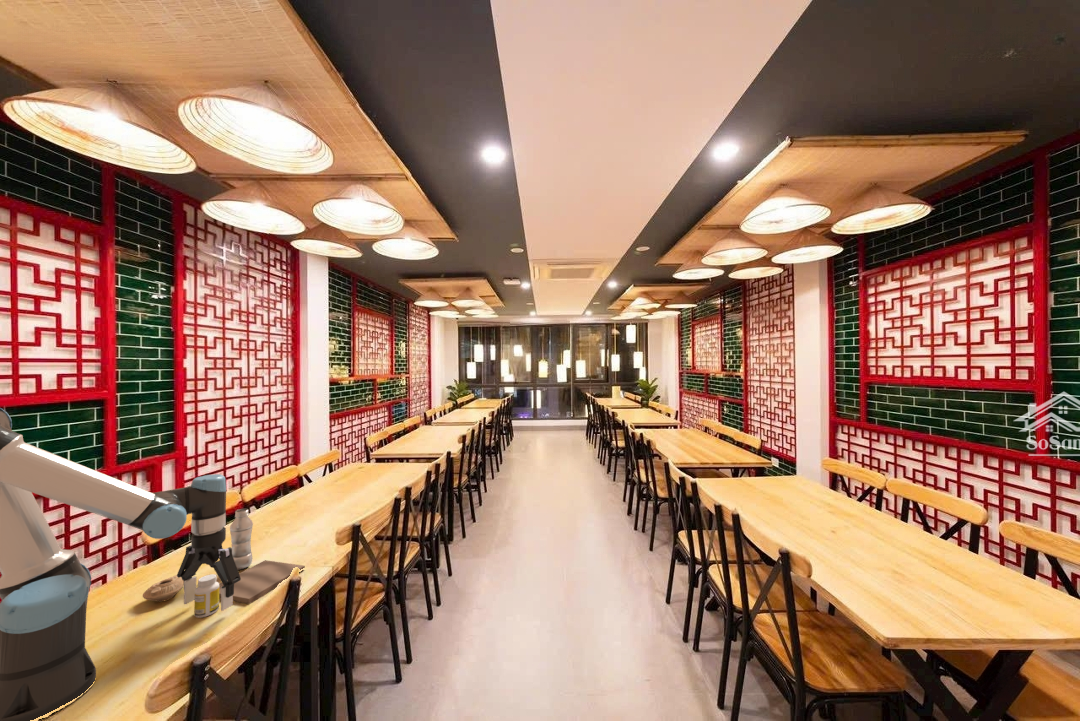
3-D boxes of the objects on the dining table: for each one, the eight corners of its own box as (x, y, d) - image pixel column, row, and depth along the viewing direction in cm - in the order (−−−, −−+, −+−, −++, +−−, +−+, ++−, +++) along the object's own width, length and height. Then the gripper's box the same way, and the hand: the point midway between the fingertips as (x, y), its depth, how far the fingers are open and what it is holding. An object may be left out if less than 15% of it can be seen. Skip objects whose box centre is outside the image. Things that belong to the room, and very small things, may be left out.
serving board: (249, 603, 114) (249, 598, 114) (204, 596, 118) (205, 591, 118) (304, 570, 134) (304, 565, 134) (265, 564, 137) (265, 560, 137)
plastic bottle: (239, 573, 131) (241, 514, 132) (223, 571, 132) (225, 513, 133) (257, 564, 137) (258, 508, 138) (241, 562, 139) (242, 506, 139)
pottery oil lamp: (200, 581, 126) (202, 565, 124) (164, 615, 114) (165, 599, 112) (173, 572, 125) (175, 557, 123) (135, 606, 114) (135, 589, 112)
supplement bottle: (218, 604, 114) (219, 570, 114) (219, 612, 110) (220, 578, 110) (194, 611, 110) (195, 577, 111) (193, 621, 106) (194, 585, 107)
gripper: (256, 528, 112) (255, 602, 111) (190, 521, 117) (189, 591, 117) (229, 539, 104) (229, 618, 104) (161, 531, 110) (160, 606, 110)
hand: (208, 604), depth 110 cm, fingers open, 13 cm apart
